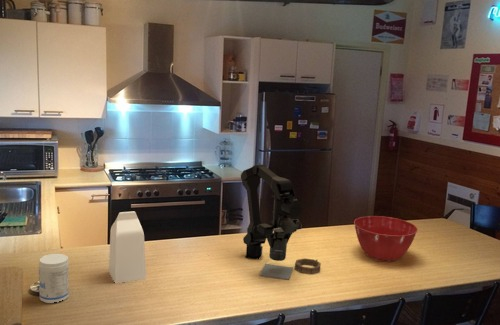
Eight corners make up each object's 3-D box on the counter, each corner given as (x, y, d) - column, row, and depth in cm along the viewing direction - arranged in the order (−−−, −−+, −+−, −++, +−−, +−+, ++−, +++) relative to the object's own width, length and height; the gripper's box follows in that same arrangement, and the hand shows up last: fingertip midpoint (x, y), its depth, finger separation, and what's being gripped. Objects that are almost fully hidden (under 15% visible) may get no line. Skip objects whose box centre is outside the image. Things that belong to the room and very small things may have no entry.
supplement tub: (34, 297, 167) (33, 257, 164) (60, 289, 174) (59, 251, 172) (48, 307, 161) (47, 266, 158) (74, 298, 168) (73, 258, 165)
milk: (114, 284, 181) (114, 218, 176) (108, 272, 191) (108, 209, 186) (146, 279, 186) (146, 215, 182) (138, 268, 196) (139, 207, 192)
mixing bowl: (377, 271, 205) (380, 237, 202) (339, 248, 230) (341, 218, 228) (427, 264, 216) (431, 231, 214) (385, 243, 242) (388, 213, 239)
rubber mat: (259, 276, 194) (259, 274, 194) (265, 265, 206) (265, 263, 206) (288, 280, 192) (289, 278, 192) (292, 268, 203) (293, 267, 203)
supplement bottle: (275, 262, 193) (277, 234, 191) (266, 256, 199) (267, 229, 196) (289, 259, 197) (291, 231, 195) (279, 254, 202) (281, 226, 200)
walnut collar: (293, 271, 200) (294, 264, 200) (296, 262, 210) (297, 255, 210) (318, 275, 198) (319, 267, 197) (320, 265, 208) (321, 258, 207)
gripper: (273, 218, 182) (270, 257, 185) (311, 213, 192) (308, 249, 195) (257, 210, 192) (255, 247, 195) (294, 205, 202) (291, 241, 204)
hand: (278, 246), depth 197 cm, fingers closed on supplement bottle, 7 cm apart
